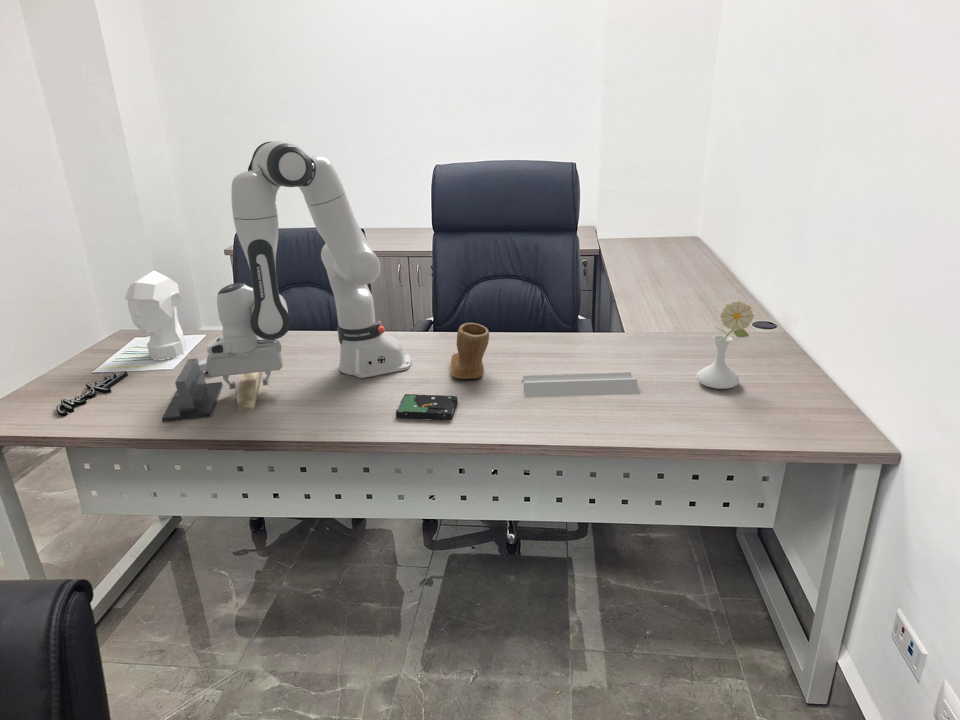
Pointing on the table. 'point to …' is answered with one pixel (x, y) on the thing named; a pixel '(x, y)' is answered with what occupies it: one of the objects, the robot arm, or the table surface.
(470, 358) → the brown boot
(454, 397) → the disk drive
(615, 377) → the crown molding
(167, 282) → the head bust
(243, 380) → the beech rod
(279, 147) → the robot arm
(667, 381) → the table surface
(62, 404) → the nameplate
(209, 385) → the dark gray stand
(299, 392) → the table surface
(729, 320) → the flower in vase
